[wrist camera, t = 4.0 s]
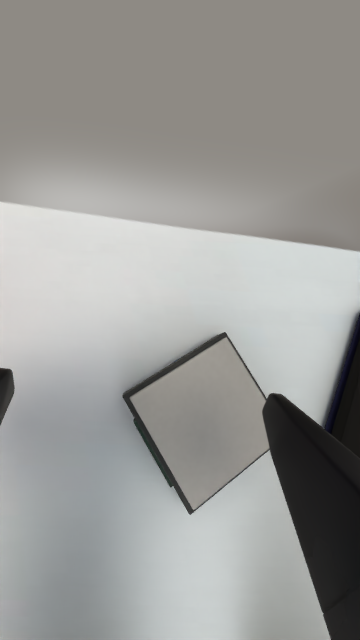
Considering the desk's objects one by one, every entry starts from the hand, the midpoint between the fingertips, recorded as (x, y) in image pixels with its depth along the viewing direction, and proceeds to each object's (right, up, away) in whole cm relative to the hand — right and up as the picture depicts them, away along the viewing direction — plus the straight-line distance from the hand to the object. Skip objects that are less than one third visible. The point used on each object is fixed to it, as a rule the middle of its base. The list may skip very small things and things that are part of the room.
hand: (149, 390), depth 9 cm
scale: (+3, -6, +14) cm, 15 cm away
